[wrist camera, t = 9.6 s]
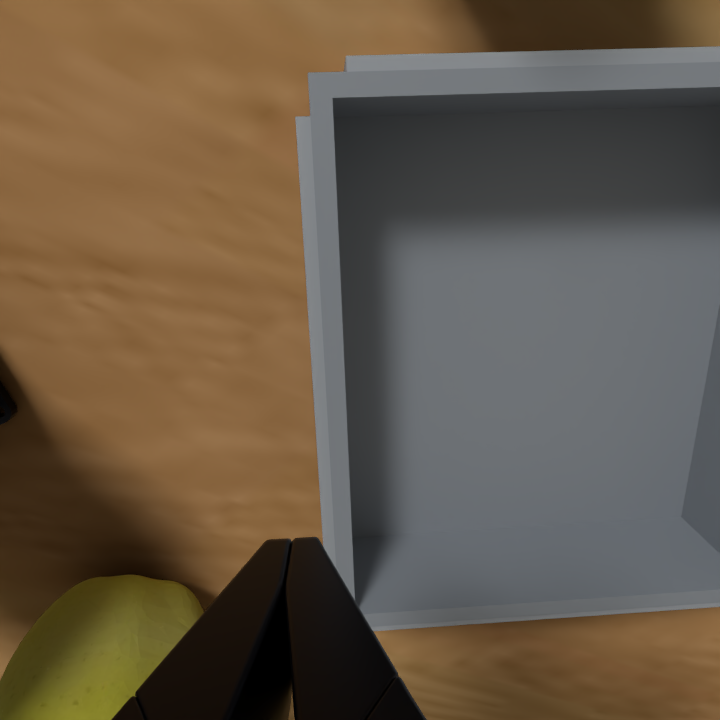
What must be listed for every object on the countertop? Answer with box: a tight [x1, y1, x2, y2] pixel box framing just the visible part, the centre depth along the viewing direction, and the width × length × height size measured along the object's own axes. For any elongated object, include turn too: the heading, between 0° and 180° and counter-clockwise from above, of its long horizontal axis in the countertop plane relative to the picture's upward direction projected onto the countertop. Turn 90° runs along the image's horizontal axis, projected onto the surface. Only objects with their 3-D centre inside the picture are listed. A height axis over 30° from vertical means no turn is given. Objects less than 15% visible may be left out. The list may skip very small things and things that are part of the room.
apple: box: [0, 575, 204, 720], centre depth 20 cm, size 8×8×10 cm
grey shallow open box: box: [295, 46, 720, 631], centre depth 19 cm, size 16×19×5 cm
